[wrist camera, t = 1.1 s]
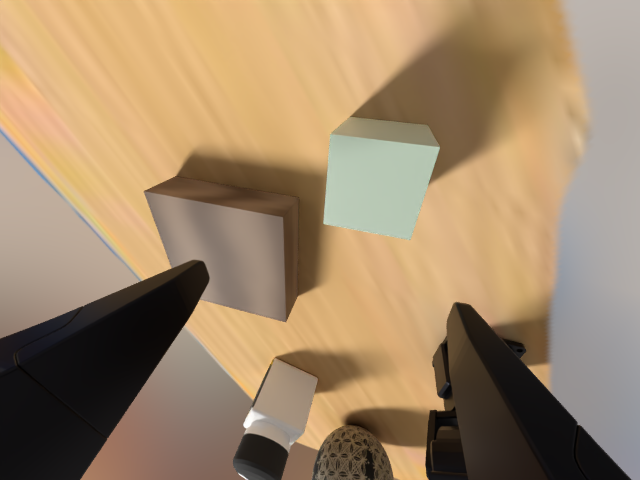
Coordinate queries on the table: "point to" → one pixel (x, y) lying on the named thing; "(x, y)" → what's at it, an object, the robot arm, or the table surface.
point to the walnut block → (232, 241)
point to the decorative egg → (352, 456)
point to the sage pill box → (378, 175)
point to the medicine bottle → (275, 421)
